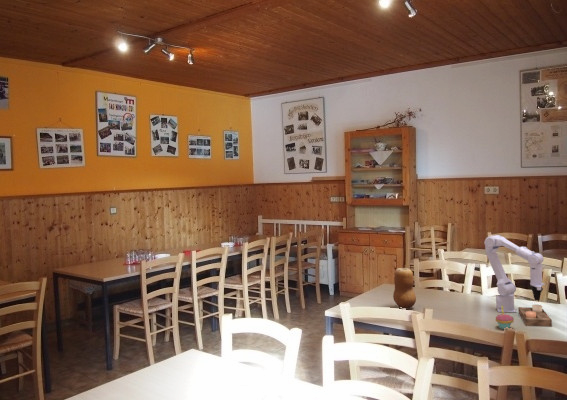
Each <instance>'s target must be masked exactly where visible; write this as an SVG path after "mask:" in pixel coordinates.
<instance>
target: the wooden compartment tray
mask: <svg viewBox="0 0 567 400" xmlns="http://www.w3.org/2000/svg"><path fill="white" fill-rule="evenodd" d="M517 309H518V311H517V312H518V315H519V316H520V318H521V320H522V321H523V323H524V324H525V326H526V327H527V326H529V327H551V328H552V327H553V320H552V319H551V317H550V316H549V314H548V313H547V312H546V311H545V310H544V309H543V308H542V312H536V318H528V317H526V312H527V311H532V307H524V306H523V307H522V306H519V307H517Z"/></svg>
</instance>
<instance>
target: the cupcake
mask: <svg viewBox="0 0 567 400" xmlns="http://www.w3.org/2000/svg"><path fill="white" fill-rule="evenodd" d="M495 322H497V324H498V327H499V329H500V330H505V329H504V328H506V327H508V328H509V329H510V328H511V325H512V324H513V323H514V318H513V317H512V316H511V315H509V314H507V313H505V312H503V306H502V312H501V313H500V314H498V315H496V316H495Z"/></svg>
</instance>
